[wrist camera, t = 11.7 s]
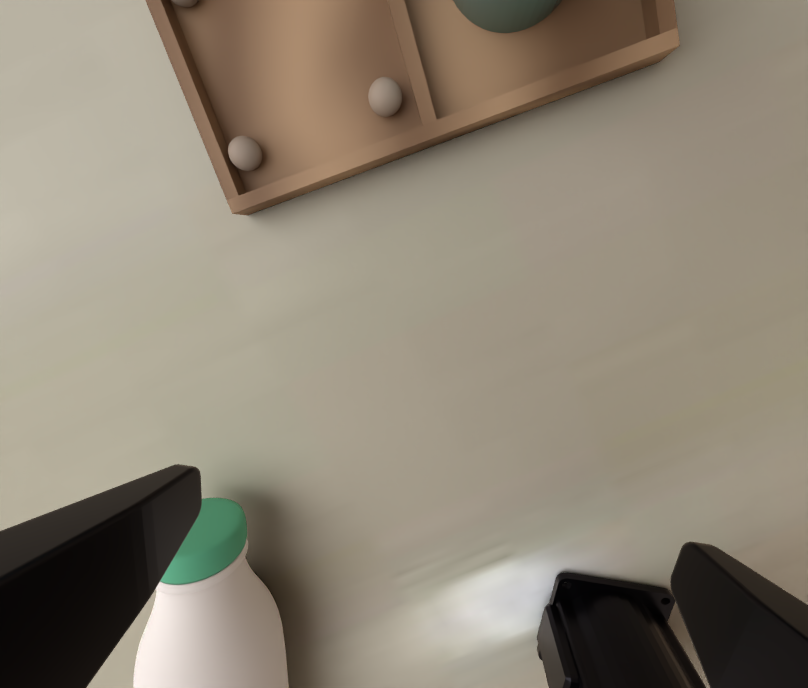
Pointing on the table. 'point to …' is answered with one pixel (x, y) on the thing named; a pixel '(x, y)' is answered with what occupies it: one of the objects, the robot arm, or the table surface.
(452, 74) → the double tray
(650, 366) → the table surface
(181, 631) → the milk bottle
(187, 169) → the table surface
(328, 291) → the table surface
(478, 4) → the bottle
